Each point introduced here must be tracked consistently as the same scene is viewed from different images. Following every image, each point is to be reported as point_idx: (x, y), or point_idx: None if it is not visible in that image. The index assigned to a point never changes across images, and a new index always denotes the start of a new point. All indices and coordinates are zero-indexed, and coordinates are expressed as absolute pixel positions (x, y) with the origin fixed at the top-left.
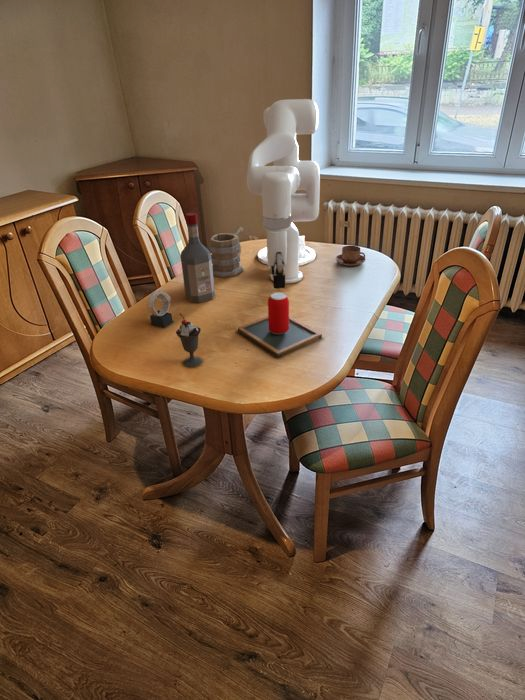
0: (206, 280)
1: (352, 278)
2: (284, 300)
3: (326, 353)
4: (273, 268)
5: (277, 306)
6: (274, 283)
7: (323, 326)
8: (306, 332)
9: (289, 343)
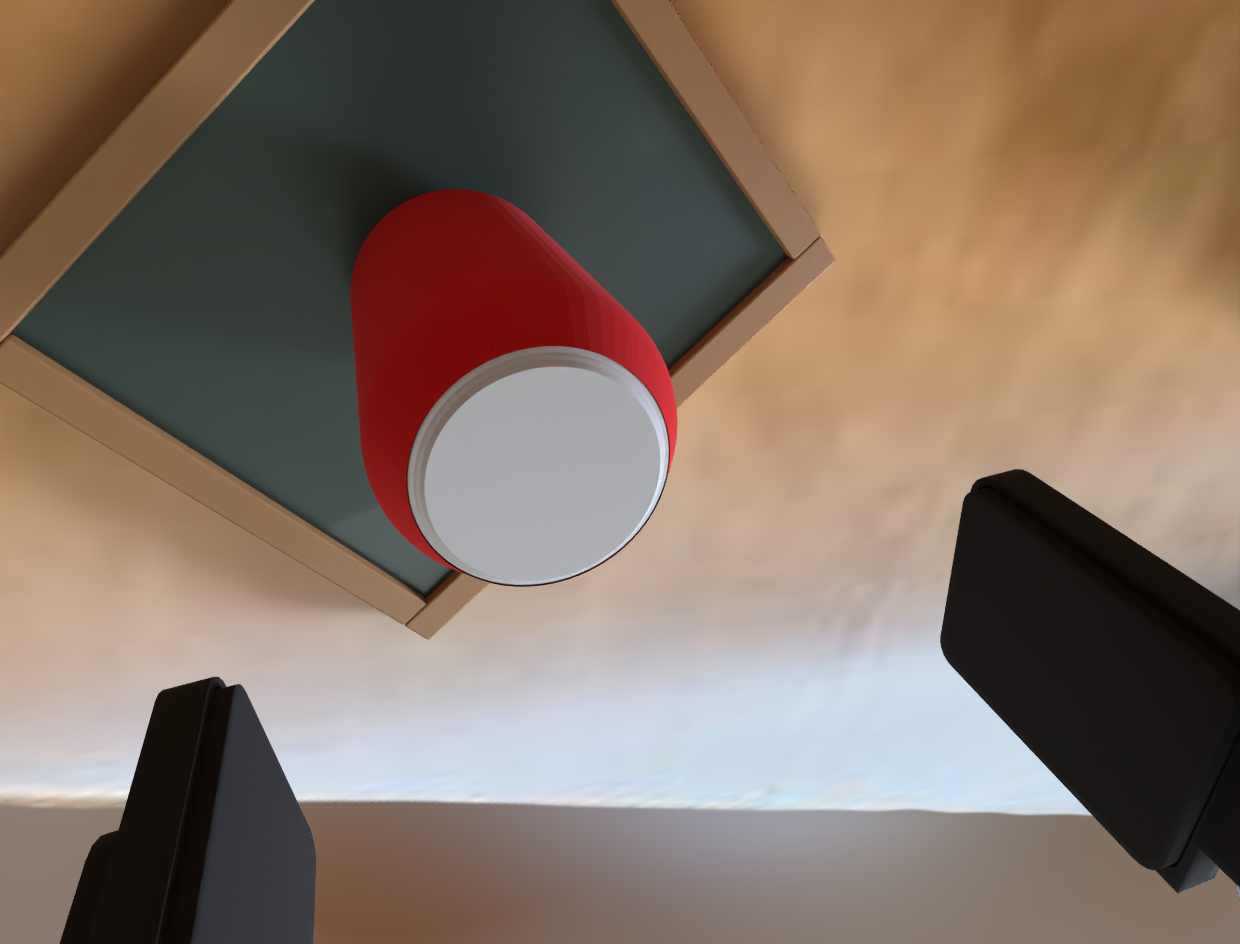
0: None
1: None
2: (443, 563)
3: (191, 676)
4: (1067, 602)
5: (362, 443)
6: (139, 814)
7: (608, 597)
8: None
9: (222, 416)
